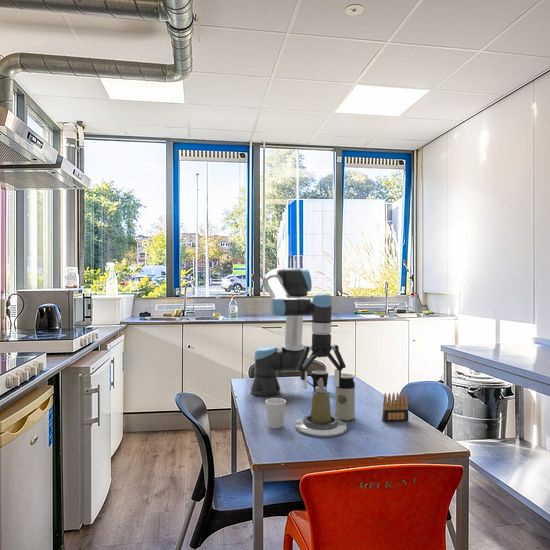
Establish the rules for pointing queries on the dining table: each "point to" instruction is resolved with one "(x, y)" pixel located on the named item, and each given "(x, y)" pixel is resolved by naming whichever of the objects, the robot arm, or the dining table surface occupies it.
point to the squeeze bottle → (320, 404)
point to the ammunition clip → (395, 409)
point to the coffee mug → (317, 375)
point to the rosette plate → (320, 432)
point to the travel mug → (345, 397)
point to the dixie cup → (275, 412)
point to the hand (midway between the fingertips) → (320, 387)
